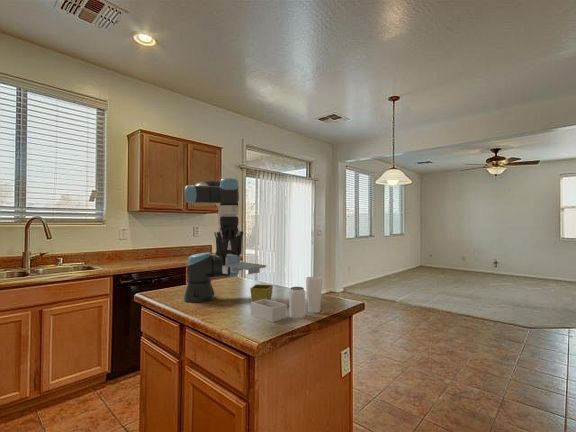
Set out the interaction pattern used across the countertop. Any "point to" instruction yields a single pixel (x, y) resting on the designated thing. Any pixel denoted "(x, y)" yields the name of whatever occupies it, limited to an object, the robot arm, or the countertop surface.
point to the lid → (242, 265)
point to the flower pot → (261, 292)
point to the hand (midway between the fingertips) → (229, 272)
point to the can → (297, 302)
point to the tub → (268, 310)
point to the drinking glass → (314, 293)
